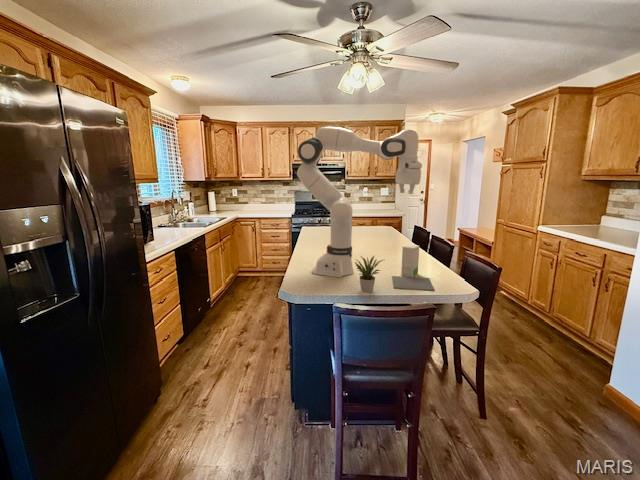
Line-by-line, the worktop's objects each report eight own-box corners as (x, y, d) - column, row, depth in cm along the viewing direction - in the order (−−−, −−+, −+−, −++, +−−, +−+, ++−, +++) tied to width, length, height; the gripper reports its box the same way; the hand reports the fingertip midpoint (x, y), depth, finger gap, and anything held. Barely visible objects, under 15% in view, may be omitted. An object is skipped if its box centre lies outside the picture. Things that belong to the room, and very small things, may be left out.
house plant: (381, 284, 143) (382, 251, 140) (388, 295, 130) (390, 259, 126) (351, 284, 143) (352, 251, 139) (355, 296, 129) (356, 259, 126)
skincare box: (412, 278, 152) (414, 248, 149) (400, 275, 156) (401, 246, 152) (418, 274, 158) (420, 245, 155) (406, 271, 162) (407, 243, 159)
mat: (393, 288, 138) (393, 287, 138) (392, 277, 154) (392, 275, 154) (434, 291, 135) (434, 289, 135) (428, 279, 150) (429, 278, 150)
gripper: (393, 165, 157) (392, 192, 160) (411, 164, 137) (409, 194, 140) (404, 165, 158) (403, 192, 161) (424, 164, 138) (422, 194, 141)
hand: (406, 193), depth 150 cm, fingers open, 8 cm apart
